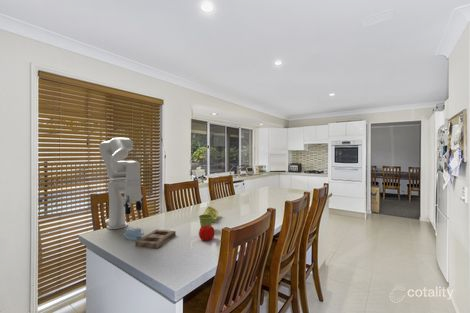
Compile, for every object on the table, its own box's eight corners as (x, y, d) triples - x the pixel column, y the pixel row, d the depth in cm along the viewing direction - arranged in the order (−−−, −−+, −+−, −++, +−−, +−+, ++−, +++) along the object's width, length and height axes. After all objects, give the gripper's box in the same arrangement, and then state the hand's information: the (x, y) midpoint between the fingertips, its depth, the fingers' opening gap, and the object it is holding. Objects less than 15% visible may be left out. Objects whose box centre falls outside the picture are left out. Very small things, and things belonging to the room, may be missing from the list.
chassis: (135, 246, 125) (135, 241, 125) (155, 233, 145) (155, 229, 145) (157, 248, 122) (157, 243, 122) (175, 235, 142) (175, 230, 142)
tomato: (206, 235, 142) (206, 223, 142) (217, 239, 136) (217, 226, 136) (195, 240, 134) (195, 227, 134) (205, 243, 129) (205, 230, 129)
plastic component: (216, 220, 165) (203, 214, 165) (211, 229, 166) (199, 223, 166) (218, 210, 185) (207, 205, 185) (214, 218, 186) (203, 213, 185)
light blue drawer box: (123, 238, 136) (122, 228, 136) (127, 236, 140) (127, 225, 140) (139, 240, 134) (139, 229, 133) (143, 237, 137) (143, 227, 137)
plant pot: (215, 227, 156) (215, 214, 156) (210, 232, 147) (210, 218, 146) (201, 226, 158) (201, 213, 158) (196, 231, 149) (196, 217, 148)
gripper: (136, 180, 145) (137, 208, 145) (117, 184, 128) (117, 215, 128) (147, 181, 143) (147, 208, 144) (129, 184, 127) (129, 216, 127)
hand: (133, 211), depth 136 cm, fingers open, 9 cm apart
